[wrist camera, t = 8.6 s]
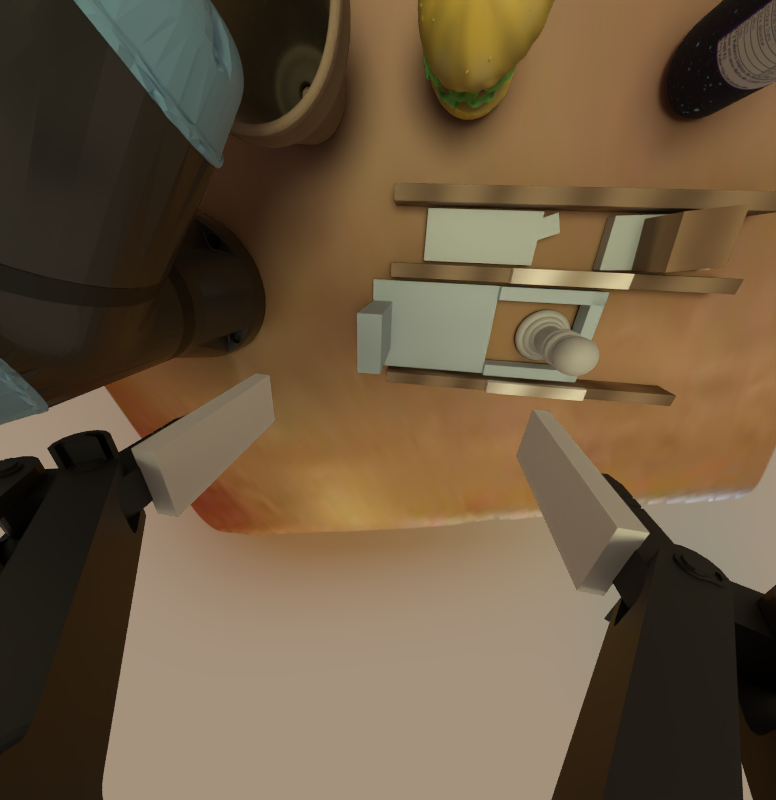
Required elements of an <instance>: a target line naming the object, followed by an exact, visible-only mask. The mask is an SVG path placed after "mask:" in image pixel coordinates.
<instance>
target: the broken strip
mask: <svg viewBox="0 0 776 800" xmlns="http://www.w3.org/2000/svg"><path fill="white" fill-rule="evenodd" d="M663 215H668V214H659V215H623V216H613V217H608V219H607V223H606V226H605V229H604V233H603V236H602V239H601V243H600V246H599V250H598V253H597V256H596V260H595V263H594V267H593V270H631V269H632V266H633V262H634V258H635V254H636V251H637V247H638V243H639V239H640V236H641V232H642V228H643V224H644V221H645V219H647V218H652V217H657V216H663ZM543 216H544V212H543V211H510V210H477V209H444V208H429V209H428V220H427V231H426V242H425V253H424V260H426V261H447V262H468V263H490V264H511V265H531V263H532V259H533V255H534V252H535V248H536V244H537V240H540V239H543V238H546V237H549V236H552V235H555V234H558V233H560V228H559V213H556V214H553V215H550V216H547V217H544V218H543ZM699 270H704V269H699Z"/></svg>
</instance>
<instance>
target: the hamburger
mask: <svg viewBox="0 0 776 800" xmlns="http://www.w3.org/2000/svg"><path fill="white" fill-rule="evenodd" d="M553 3H554V0H418V22H419V32H420V38H421V42H422V47H423V63H424V66H425V71H426V79H427V80H429V79H430V80H431V84H432V87H433V89H434V92H435V94H436V96H437V98H438V100H439V101H440V103H441V104H442V106H443V107H444V108H445V109H446V110H447V111H448V112H449V113H450V114H452V115H453V116H455V117H458V118H460V119H466V120H473V119H477V118H480V117H483V116H485V115H486V114H488V113H489V112H490V111H491V110H492V109H494V108H495V107H496V106H497V105H498V103H499V102H500V101H501V100H502V99H503V98H504V97H505V95H506V93H507V91H508V88H509V85H510V84H511V81H512V78H513V72H514V69H515V67H516V65H517V63H518V62H519V61H520V60H522V59H523V58H524V57H525V56H526V54H527V53H528V51H529V49H530V47H531V46H532V44H533V43H534V42H535V40H536V39H537V38H538V36H539V35H540V33H541V31H542V29H543V27H544V25H545V23H546V20H547V17H548V14H549V12H550V9H551V7H552V5H553Z"/></svg>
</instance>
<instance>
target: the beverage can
mask: <svg viewBox="0 0 776 800" xmlns="http://www.w3.org/2000/svg"><path fill="white" fill-rule="evenodd" d="M774 82H776V0H723V1H722V2H721V3H720V4H719V5H717V6H716V7H715V8H714V9H713V10H712V11H710V12H709V13H708V14H707V15H706V16H705V17H704V18H702V19H701V20H700V21H699V22H698V23H697V24H696V25H695V26H694V27H693V29H692V30H691V31H690V32H689V33H688V35H687V36H686V37H685V39H684V40H683V42H682V43H681V45H680V47H679V49H678V50H677V52H676V54H675V56H674V59H673V61H672V64H671V67H670V70H669V75H668V81H667V95H668V99H669V102H670V105H671V107H672V108H673V109H674V111H675V112H676V113H678V114H679V115H681V116H683V117H686V118H701V117H705V116H708V115H710V114H713V113H715V112H717V111H719V110H721V109H723V108H725V107H727V106H728V105H730V104H732V103H734V102H736V101H738V100H740V99H742V98H744V97H746V96H748V95H750V94H752V93H754V92H756V91H758V90H760V89H762V88H764V87H766V86H768V85H770V84H772V83H774Z"/></svg>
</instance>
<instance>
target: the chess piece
mask: <svg viewBox="0 0 776 800" xmlns="http://www.w3.org/2000/svg"><path fill="white" fill-rule="evenodd" d="M515 343H516V347H517V349H518V351H519V352H520V354H521V355H523V356H524V357H526V358H528V359H531V360H545V361H546V362H547V363H548V364H550V365H552V366H554V367H555V368H556V370H558V371H559V372H561V373H562V374H565V375H568V376H580V375H584V374H586V373H588V372H589V371H591V370H592V369H593V368H594V367H595V366H596V364H597V362H598V360H599V355H600V354H599V349H598V347H597V345H596V344H595V343H594V342H593V341H591V340H589V339H587V338H585V337H582V336H581V335H580V334H578V333H577V332H574V331H572V330H570V325H569V322H568V320H567V318H566V317H565V316H564V315H563V314H561V313H560V312H558V311H555V310H542V311H538V312H535V313H533V314H531V315H530V316H528V317H527V318H526V319H525V320H524V321H523V322H522V323H521V324H520V326H519V327H518V329H517V332H516V337H515Z"/></svg>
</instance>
